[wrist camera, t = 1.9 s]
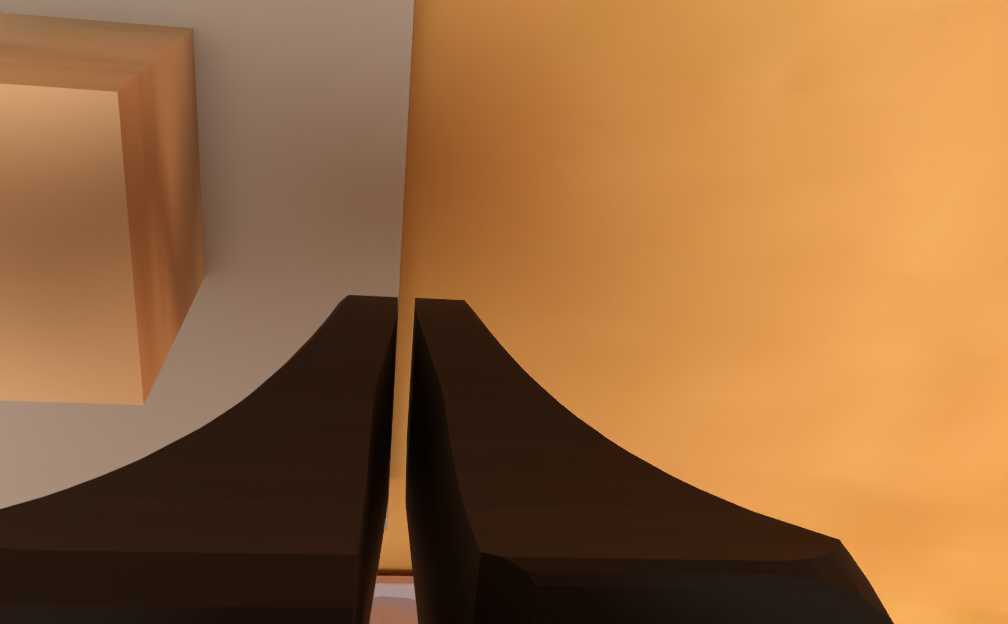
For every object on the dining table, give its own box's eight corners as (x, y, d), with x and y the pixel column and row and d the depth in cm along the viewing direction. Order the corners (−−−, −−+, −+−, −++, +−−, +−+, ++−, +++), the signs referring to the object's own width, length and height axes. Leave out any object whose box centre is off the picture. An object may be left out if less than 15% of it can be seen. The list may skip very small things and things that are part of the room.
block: (205, 276, 19) (143, 404, 15) (-53, 264, 19) (-197, 393, 14) (193, 28, 17) (117, 92, 13) (-99, 4, 17) (-284, 62, 12)
